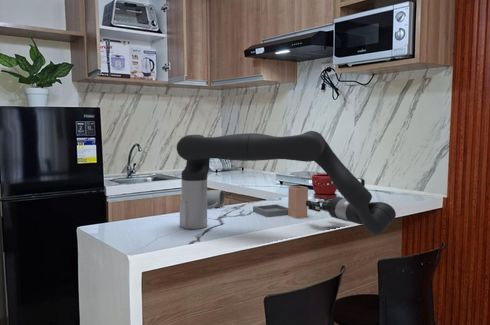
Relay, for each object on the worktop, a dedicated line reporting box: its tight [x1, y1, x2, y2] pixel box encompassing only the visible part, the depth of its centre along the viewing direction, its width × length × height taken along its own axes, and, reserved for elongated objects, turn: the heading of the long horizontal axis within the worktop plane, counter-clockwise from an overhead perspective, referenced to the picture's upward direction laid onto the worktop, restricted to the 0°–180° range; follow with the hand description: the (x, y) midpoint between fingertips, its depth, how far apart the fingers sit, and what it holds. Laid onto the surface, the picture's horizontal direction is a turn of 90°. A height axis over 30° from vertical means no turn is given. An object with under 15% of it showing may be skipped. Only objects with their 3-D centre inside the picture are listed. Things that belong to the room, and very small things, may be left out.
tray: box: [252, 203, 288, 218], centre depth 180 cm, size 12×12×2 cm
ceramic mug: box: [207, 189, 226, 210], centre depth 192 cm, size 11×8×8 cm
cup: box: [287, 185, 309, 219], centre depth 174 cm, size 6×6×12 cm
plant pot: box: [311, 173, 338, 200], centre depth 219 cm, size 13×13×12 cm
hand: (315, 202), depth 163 cm, fingers open, 8 cm apart
